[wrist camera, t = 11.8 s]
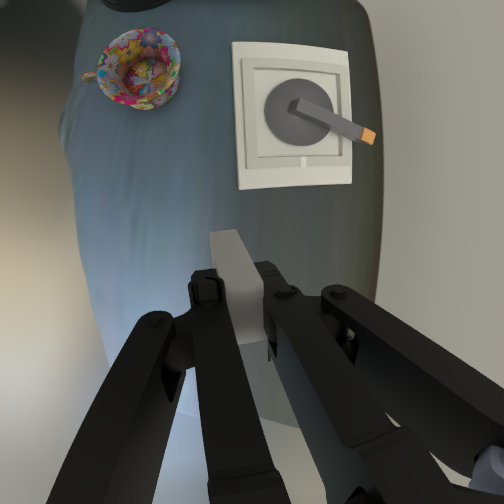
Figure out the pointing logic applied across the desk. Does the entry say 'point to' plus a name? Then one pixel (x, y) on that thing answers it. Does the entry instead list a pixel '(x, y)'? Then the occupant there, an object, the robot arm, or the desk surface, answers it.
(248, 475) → the robot arm
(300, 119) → the dial
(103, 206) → the desk surface
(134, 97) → the mug
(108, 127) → the desk surface
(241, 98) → the panel
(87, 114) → the desk surface
